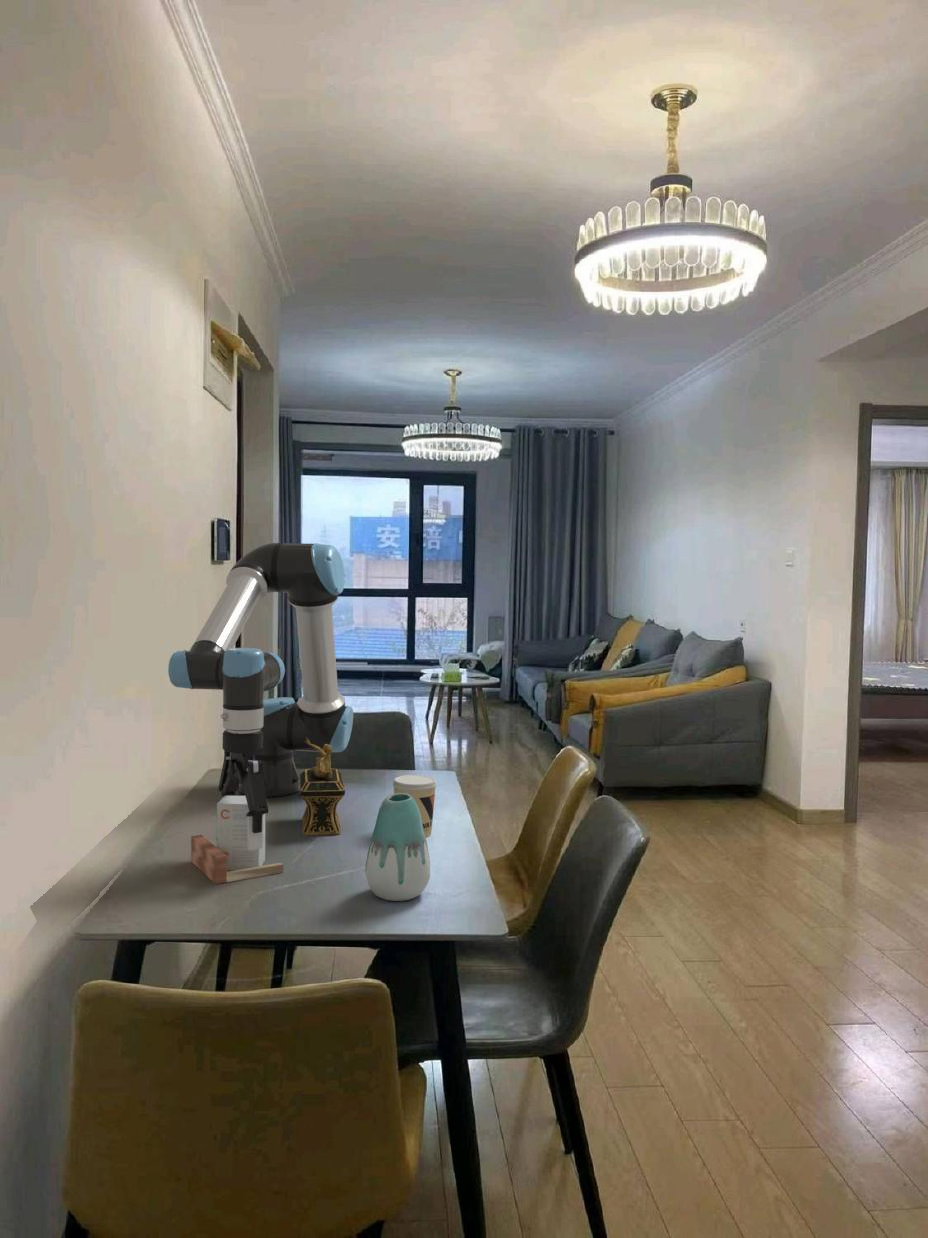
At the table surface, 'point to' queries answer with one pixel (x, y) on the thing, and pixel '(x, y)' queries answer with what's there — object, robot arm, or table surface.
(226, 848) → the small box
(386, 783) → the table surface
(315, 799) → the decorative box
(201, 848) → the keeper seat
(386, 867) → the vase
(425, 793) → the coffee cup
